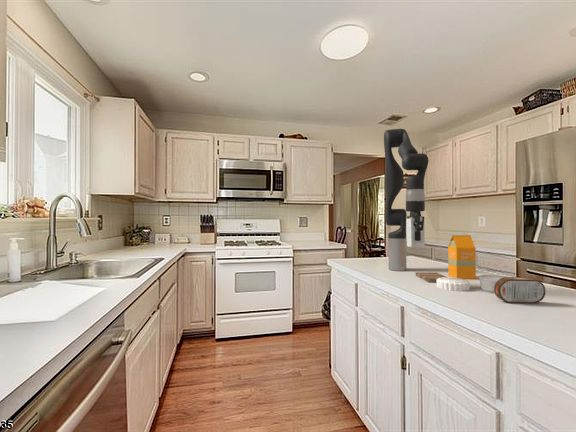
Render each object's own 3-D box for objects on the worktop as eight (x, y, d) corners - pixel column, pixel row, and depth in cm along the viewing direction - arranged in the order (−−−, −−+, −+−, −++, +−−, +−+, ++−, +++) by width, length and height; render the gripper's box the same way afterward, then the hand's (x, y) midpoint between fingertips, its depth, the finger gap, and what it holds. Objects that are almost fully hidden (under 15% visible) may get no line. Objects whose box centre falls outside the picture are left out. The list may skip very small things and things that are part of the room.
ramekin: (520, 295, 110) (520, 281, 110) (486, 294, 112) (486, 279, 112) (505, 288, 121) (504, 275, 121) (474, 287, 123) (474, 274, 123)
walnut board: (415, 275, 148) (415, 272, 148) (436, 275, 147) (436, 272, 147) (428, 282, 132) (428, 279, 132) (452, 282, 131) (452, 279, 131)
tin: (540, 301, 102) (540, 276, 102) (547, 304, 99) (547, 278, 99) (493, 300, 103) (493, 276, 103) (499, 303, 100) (498, 278, 100)
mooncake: (429, 286, 126) (429, 277, 126) (451, 283, 130) (451, 275, 130) (454, 292, 115) (454, 283, 115) (477, 290, 119) (477, 281, 119)
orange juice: (476, 279, 139) (475, 235, 139) (456, 279, 139) (456, 235, 139) (466, 275, 147) (466, 234, 147) (448, 275, 147) (447, 234, 147)
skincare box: (419, 246, 131) (419, 218, 131) (425, 247, 127) (424, 218, 127) (406, 246, 131) (405, 218, 131) (411, 247, 126) (411, 218, 126)
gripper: (400, 201, 136) (401, 238, 136) (412, 199, 122) (412, 241, 122) (417, 201, 135) (418, 238, 136) (431, 199, 121) (431, 241, 121)
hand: (415, 239), depth 129 cm, fingers closed on skincare box, 4 cm apart
